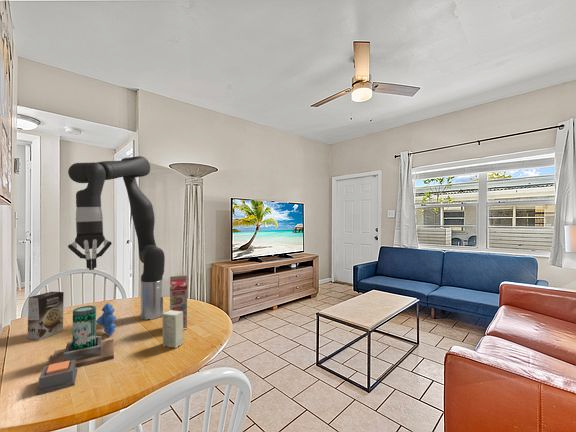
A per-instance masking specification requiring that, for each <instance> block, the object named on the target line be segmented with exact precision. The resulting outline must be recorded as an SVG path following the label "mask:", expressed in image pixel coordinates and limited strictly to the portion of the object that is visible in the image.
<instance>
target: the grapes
mask: <svg viewBox="0 0 576 432" xmlns="http://www.w3.org/2000/svg"><path fill="white" fill-rule="evenodd" d="M101 311H102V312H103V313H102V314H101V315H100V316H99V317H97V318H96V324H98V325H99V326H103V327H104V329H103V332H104V333H106V335H108V336H112V335H113V334H114V333H115V331H116V330H115V329H116V327H117V324H116V323H115V320H116V319H117V317H116V316H115V315H114V313H115V309H114V308H113V305H112V304H111V303H109V302H107V303H105V304H104V306H103V307H102V309H101Z"/></svg>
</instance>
